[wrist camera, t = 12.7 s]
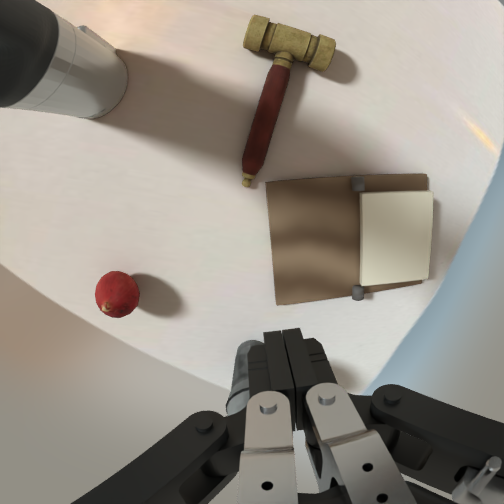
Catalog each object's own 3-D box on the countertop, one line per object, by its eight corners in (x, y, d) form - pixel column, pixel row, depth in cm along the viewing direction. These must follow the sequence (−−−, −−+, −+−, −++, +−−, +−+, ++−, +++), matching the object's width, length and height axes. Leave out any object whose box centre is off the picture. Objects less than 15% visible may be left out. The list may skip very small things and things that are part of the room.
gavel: (288, 202, 35) (201, 179, 34) (283, 194, 39) (206, 174, 38) (339, 35, 28) (254, 8, 26) (329, 45, 32) (252, 21, 31)
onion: (153, 282, 40) (137, 310, 33) (131, 309, 41) (113, 340, 34) (120, 254, 39) (97, 277, 31) (100, 283, 40) (76, 309, 32)
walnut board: (265, 182, 37) (267, 184, 34) (423, 173, 37) (434, 175, 35) (275, 302, 42) (278, 312, 39) (418, 280, 42) (427, 288, 40)
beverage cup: (219, 361, 45) (213, 472, 26) (240, 324, 43) (243, 438, 24) (262, 376, 46) (275, 484, 27) (285, 342, 44) (312, 451, 25)
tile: (433, 191, 34) (428, 190, 36) (362, 194, 35) (359, 192, 36) (427, 278, 38) (424, 275, 39) (361, 286, 39) (359, 281, 40)
